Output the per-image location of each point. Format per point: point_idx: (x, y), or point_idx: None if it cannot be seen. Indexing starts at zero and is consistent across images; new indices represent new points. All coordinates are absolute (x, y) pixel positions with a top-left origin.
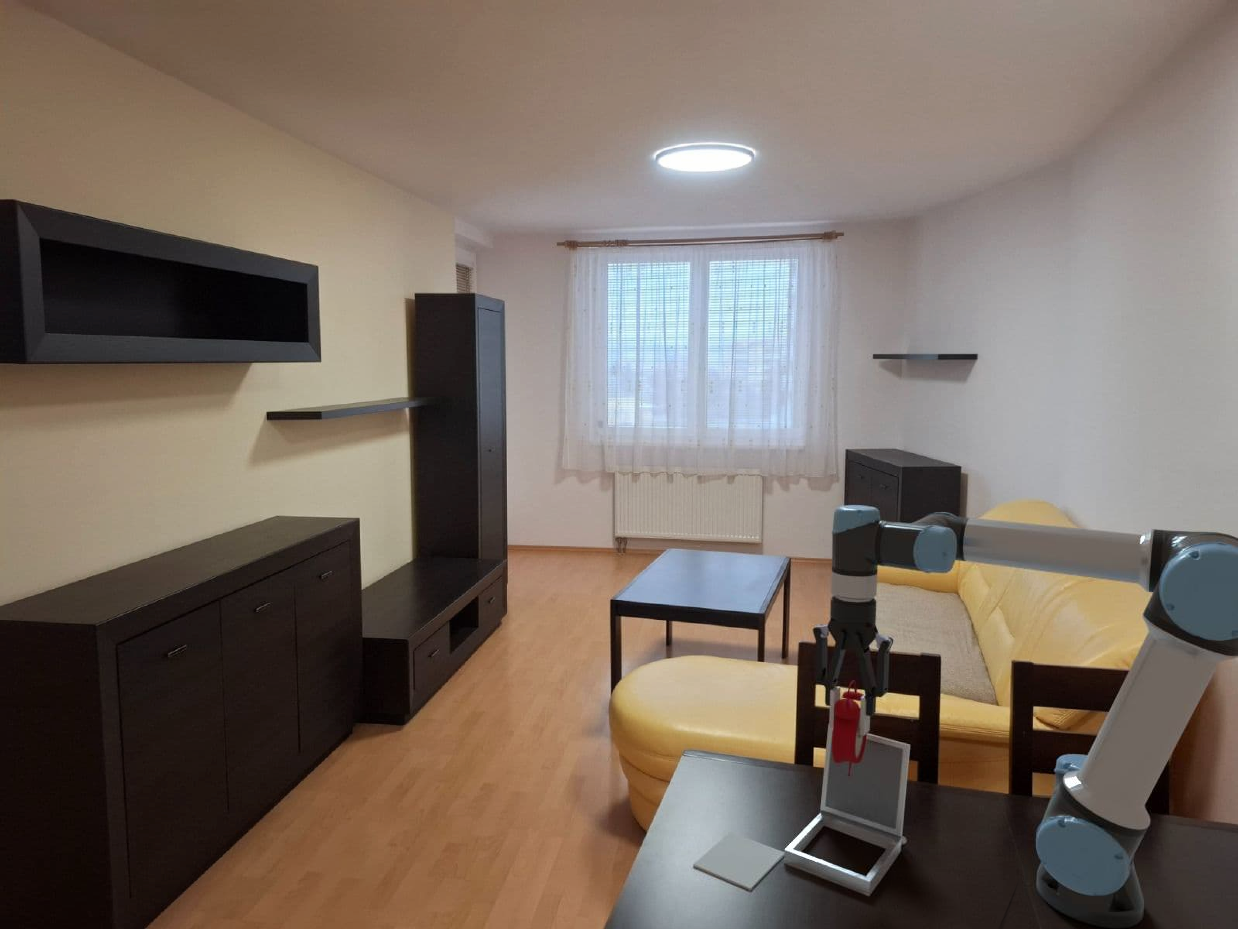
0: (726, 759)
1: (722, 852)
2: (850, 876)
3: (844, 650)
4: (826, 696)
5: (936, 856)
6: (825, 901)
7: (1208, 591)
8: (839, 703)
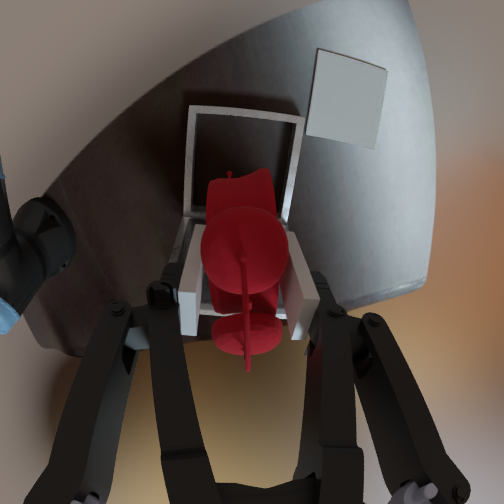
0: (397, 289)
1: (369, 103)
2: (214, 106)
3: (301, 470)
4: (326, 290)
5: (152, 224)
6: (234, 69)
7: None
8: (271, 252)
